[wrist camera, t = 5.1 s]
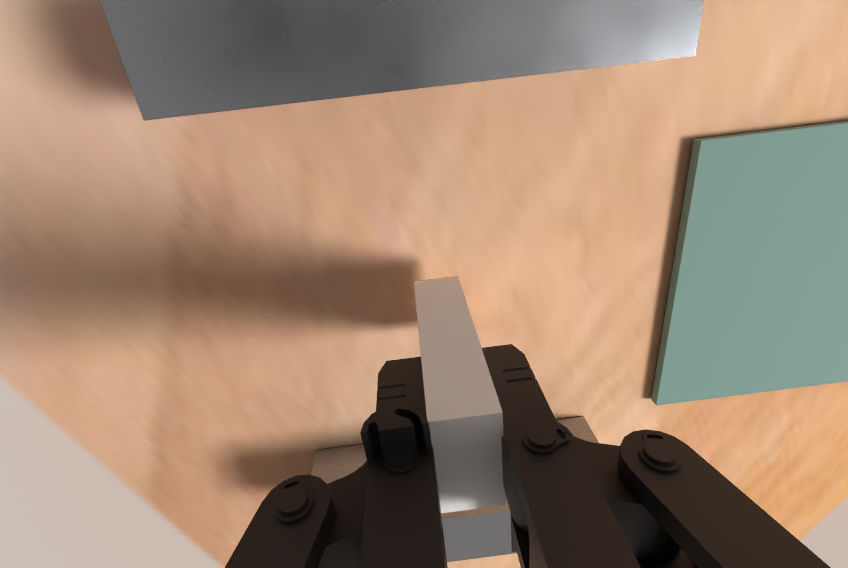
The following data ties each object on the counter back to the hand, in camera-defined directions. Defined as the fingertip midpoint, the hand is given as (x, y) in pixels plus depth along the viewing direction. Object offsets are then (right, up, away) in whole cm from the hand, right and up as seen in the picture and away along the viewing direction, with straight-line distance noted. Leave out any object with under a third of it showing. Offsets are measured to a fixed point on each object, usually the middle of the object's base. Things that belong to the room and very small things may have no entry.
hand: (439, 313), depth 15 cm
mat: (+14, +2, +2) cm, 15 cm away
